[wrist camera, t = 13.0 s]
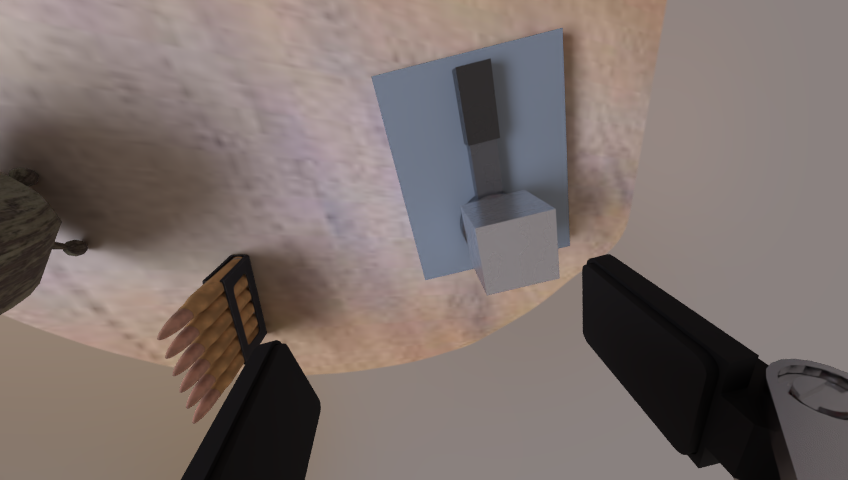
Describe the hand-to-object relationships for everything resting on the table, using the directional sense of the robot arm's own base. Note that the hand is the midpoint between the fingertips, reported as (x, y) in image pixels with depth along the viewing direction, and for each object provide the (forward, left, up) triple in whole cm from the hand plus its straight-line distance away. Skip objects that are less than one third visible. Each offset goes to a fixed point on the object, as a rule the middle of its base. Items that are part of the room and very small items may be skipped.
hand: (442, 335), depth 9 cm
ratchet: (0, +7, -21) cm, 22 cm away
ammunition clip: (+8, -21, -23) cm, 32 cm away
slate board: (0, +7, -23) cm, 24 cm away
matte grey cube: (+5, +7, -19) cm, 21 cm away
